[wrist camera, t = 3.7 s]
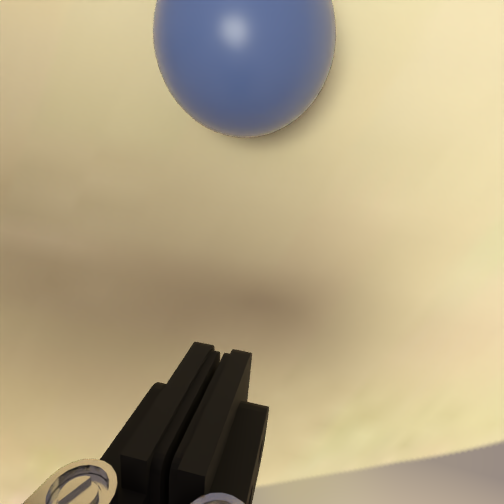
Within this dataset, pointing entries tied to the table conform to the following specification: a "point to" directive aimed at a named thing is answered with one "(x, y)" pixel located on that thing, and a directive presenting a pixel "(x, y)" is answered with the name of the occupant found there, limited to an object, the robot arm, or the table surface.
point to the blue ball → (244, 59)
